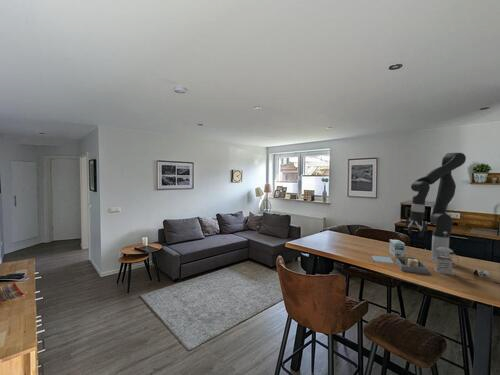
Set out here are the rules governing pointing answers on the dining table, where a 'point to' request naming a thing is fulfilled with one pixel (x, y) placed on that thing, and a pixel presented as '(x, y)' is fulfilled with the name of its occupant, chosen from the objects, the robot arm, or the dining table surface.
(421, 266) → the parts bin
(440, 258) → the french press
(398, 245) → the light bulb box
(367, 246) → the dining table surface
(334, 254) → the dining table surface
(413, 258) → the walnut block
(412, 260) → the beige box with label
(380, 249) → the dining table surface
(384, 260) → the placing board
